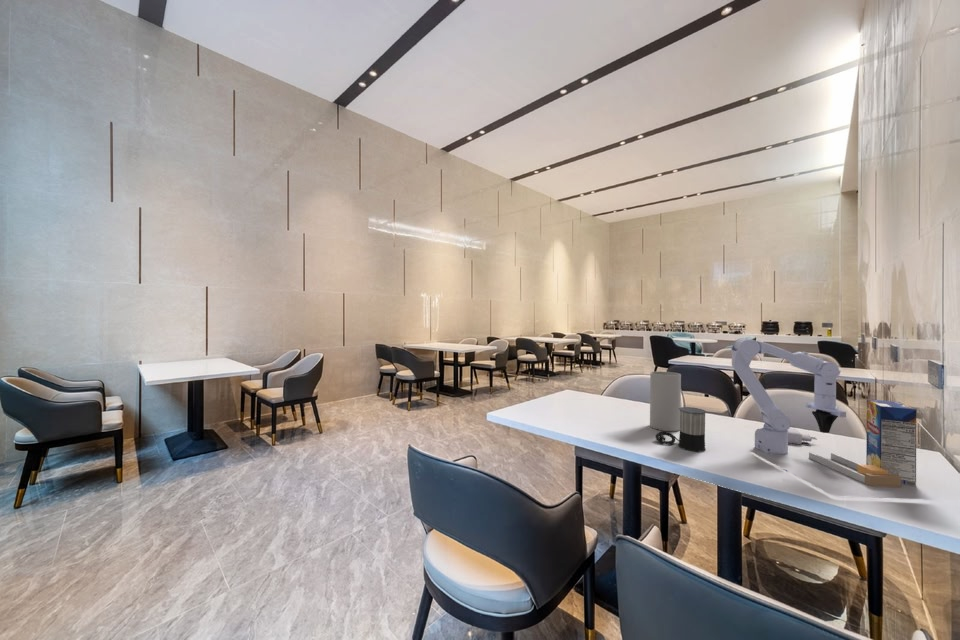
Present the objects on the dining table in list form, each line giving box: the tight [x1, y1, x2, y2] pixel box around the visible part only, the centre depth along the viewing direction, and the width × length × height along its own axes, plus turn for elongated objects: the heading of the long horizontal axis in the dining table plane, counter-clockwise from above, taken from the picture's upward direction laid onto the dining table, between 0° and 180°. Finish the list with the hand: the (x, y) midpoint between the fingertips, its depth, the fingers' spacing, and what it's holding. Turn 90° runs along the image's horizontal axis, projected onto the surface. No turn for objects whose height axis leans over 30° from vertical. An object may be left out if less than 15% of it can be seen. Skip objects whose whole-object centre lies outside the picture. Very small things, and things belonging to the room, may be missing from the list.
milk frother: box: [655, 406, 707, 452], centre depth 145 cm, size 14×16×15 cm
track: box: [808, 451, 901, 488], centre depth 119 cm, size 8×22×4 cm, turn 176°
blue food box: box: [865, 398, 917, 487], centre depth 115 cm, size 12×8×24 cm, turn 148°
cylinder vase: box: [649, 371, 682, 432], centre depth 169 cm, size 12×12×25 cm
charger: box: [788, 427, 818, 445], centre depth 152 cm, size 5×9×15 cm
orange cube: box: [858, 464, 888, 475], centre depth 112 cm, size 4×4×4 cm
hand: (824, 432), depth 133 cm, fingers closed
